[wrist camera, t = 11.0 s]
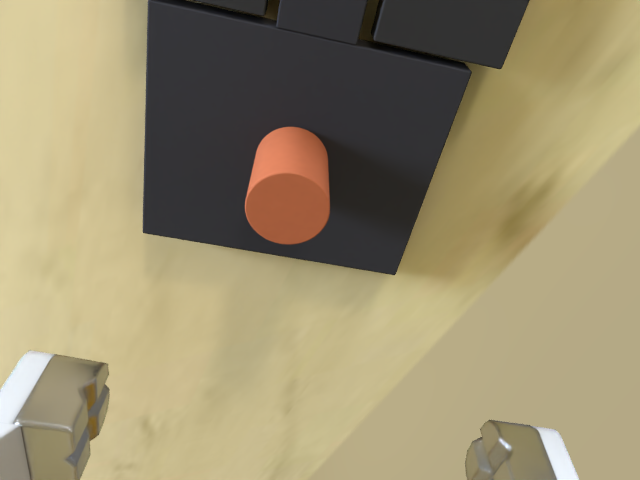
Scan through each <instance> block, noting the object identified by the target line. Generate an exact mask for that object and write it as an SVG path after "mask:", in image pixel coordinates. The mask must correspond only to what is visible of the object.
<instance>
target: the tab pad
mask: <svg viewBox="0 0 640 480" xmlns="http://www.w3.org/2000/svg"><path fill="white" fill-rule="evenodd" d="M367 1H368V0H280V3H279V10H278V16H277V21H275V20H271V19H266V18H262V17H257V16H253V15H248V14H244V13H239V12H235V11H230V10H226V9H222V8H217V7H213V6H208V5H204V4H199V3H195V2H190V1H186V0H148V25H147V69H146V112H145V155H144V198H143V233H147V234H153V235H159V236H165V237H171V238H177V239H182V240H188V241H194V242H200V243H206V244H212V245H218V246H224V247H230V248H236V249H242V250H248V251H254V252H260V253H266V254H272V255H278V256H284V257H290V258H296V259H302V260H308V261H314V262H320V263H326V264H332V265H338V266H344V267H350V268H356V269H362V270H368V271H374V272H380V273H386V274H391V275H395V274H396V272H397V269H398V266H399V264H400V261H401V259H402V256H403V253H404V251H405V248H406V245H407V243H408V240H409V237H410V235H411V232H412V229H413V227H414V224H415V221H416V219H417V216H418V214H419V211H420V208H421V206H422V203H423V200H424V198H425V195H426V192H427V190H428V187H429V184H430V182H431V179H432V176H433V174H434V171H435V169H436V166H437V163H438V161H439V158H440V155H441V153H442V150H443V147H444V145H445V142H446V139H447V137H448V134H449V132H450V129H451V126H452V124H453V121H454V118H455V116H456V113H457V110H458V108H459V105H460V102H461V100H462V97H463V94H464V92H465V89H466V87H467V84H468V81H469V79H470V76H471V73H472V72H471V70H470V69H469V68H468V67H467V66H466V64H465V63H462V62H458V61H453V60H449V59H444V58H440V57H436V56H431V55H427V54H422V53H418V52H413V51H409V50H404V49H400V48H395V47H391V46H386V45H382V44H378V43H373V42H369V41H364V40H360V39H358V38H359V34H360V30H361V26H362V22H363V18H364V14H365V10H366V5H367Z"/></svg>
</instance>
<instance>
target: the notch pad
mask: <svg viewBox="0 0 640 480" xmlns="http://www.w3.org/2000/svg"><path fill="white" fill-rule="evenodd" d="M194 1H198V2H202V3H207V4H211V5H216V6H220V7H225V8H229V9H234V10H238V11H243V12H247V13H251V14H256V15H260V16H264V15H265V12H266V10H267V5H268V0H194ZM528 3H529V0H379V3H378V7H377V11H376V15H375V19H374V22H373V26H372V30H371V34H372V37H373V39H374V41H377V42H381V43H385V44H390V45H394V46H399V47H403V48H408V49H412V50H417V51H421V52H425V53H430V54H434V55H439V56H443V57H448V58H452V59H457V60H461V61H466V62H470V63H474V64H479V65H483V66H488V67H492V68H497V69H501V68H502V66H503V64H504V61H505V59H506V57H507V54H508V52H509V49H510V47H511V44H512V42H513V39H514V37H515V35H516V32H517V30H518V27H519V25H520V22H521V20H522V17H523V15H524V13H525V10H526V8H527V5H528Z"/></svg>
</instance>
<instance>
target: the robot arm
mask: <svg viewBox="0 0 640 480" xmlns="http://www.w3.org/2000/svg"><path fill="white" fill-rule="evenodd" d="M108 375H109V369H108V364H107V363H102V362H96V361H91V360H85V359H79V358H74V357H68V356H62V355H57V354H50V353H44V352H38V351H32V350H29V351H28V352H27V353H26V354H25V355H24V356H22V358H21V359H20V361H19V362H18V364H17V365H16V367H15V368H14V370H13V371H12V373H11V374H10V376H9V377H8V379H7V380H6V382H5V384H4V385H3V387H2V388H1V390H0V480H80V478H81V476H82V473H83V471H84V469H85V466H86V464H87V462H88V459H89V457H90V441H91V440H92V439H94V438H95V437H96V436H98V435H99V433H100V431H101V428H102V426H103V423H104V420H105V417H106V413H107V409H108V404H109V388H108V387H107V386H106V385H105V382H106V380H107V378H108ZM480 430H481V434H482V437H480V438H478V439H477V440H474V441H473V442H472V443H471V445H470V447H469V449H468V450H467V455H466V461H465V467H466V476H467V480H579V477H578V475H577V473H576V470H575V468H574V466H573V463H572V461H571V459H570V457H569V454H568V452H567V449H566V447H565V445H564V442H563V440H562V438H561V436H560V434H559V433H558V432H557V431H556V430H554V429H548V428H541V427H534V426H530V425H524V424H517V423H509V422H502V421H495V420H489V421H487V422H485V423H484V425H483V426H482V427H481V429H480Z"/></svg>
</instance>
